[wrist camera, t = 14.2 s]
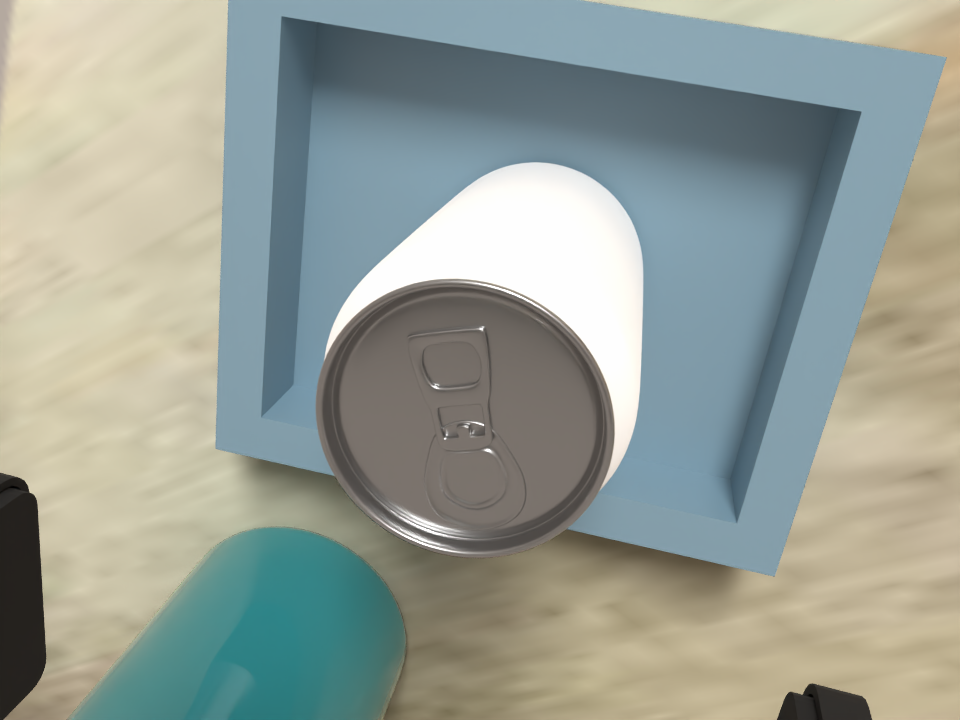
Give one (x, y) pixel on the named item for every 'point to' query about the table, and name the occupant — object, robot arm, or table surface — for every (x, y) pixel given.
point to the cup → (262, 639)
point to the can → (490, 366)
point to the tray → (616, 166)
